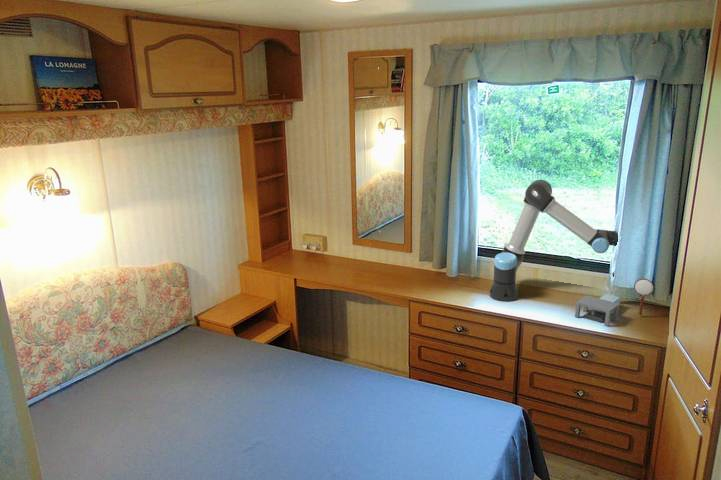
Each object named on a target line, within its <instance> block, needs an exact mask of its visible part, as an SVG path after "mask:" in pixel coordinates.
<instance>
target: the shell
mask: <svg viewBox="0 0 721 480" xmlns="http://www.w3.org/2000/svg"><path fill="white" fill-rule="evenodd" d="M599 299H603V300H606V301H610V302H614V303H618V304H619V305H620V303H621V296H620V297H618V296H614V295H613V294H608V293H605V294H604V295H602V296H601V297H600V298H599ZM613 311H614V310H613ZM613 311H612V312H611V314H610V316H611V315H613ZM595 312H598V313H601V314H603V315H604V314H605V315H606V312H603V311H600V310H596V309H595Z"/></svg>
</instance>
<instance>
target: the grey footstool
mask: <svg viewBox="0 0 721 480" xmlns="http://www.w3.org/2000/svg"><path fill="white" fill-rule="evenodd" d="M581 306H582V307H583V311H582V312H584V315H583V318H584V319H586V320H590V321H593V322H597V323H600V324H604V327H606V328H608V327H610V324H611V323H610V322H611V321H610V319H611V315H612V320H613V321H617V320H618V317H619V316H618V314H619V309H620V303H619V304H618V303H614V302H610V301H606V300H603V299H599V298H598V297H595V296H591V295H585V296H583V297H581V298H580V299H579V300H577V301H576V303H575V313H574V318H576V319H579V318H580V316H581V315H580V314H581V308H582V307H581ZM589 309H593V310H595V311H596V310H600V311H603V312H606V314H605V318H604V319H603V318H601V317H598V316H594V315H591V314H592V311H591V310H589ZM613 310H614V311H613ZM612 311H613V313H612V314H611V312H612ZM585 312H586V313H585ZM610 314H611V315H610Z"/></svg>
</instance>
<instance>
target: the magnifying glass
mask: <svg viewBox="0 0 721 480" xmlns="http://www.w3.org/2000/svg"><path fill="white" fill-rule="evenodd" d="M633 288H634V291H635V293H637V294H638V295H640V302H639V303H640V304H639V310H638V311H639V312H638V317H642V313H643V307H644V300H645V299H644V298H645V296H646V297H647V296H649V295H652V294H653V292H654V290H655V285H654V282H652V281H651V280H650V279H648V278H639V279H638V280H636V281H635V283H634V285H633Z"/></svg>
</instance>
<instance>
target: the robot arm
mask: <svg viewBox="0 0 721 480" xmlns="http://www.w3.org/2000/svg"><path fill="white" fill-rule="evenodd" d="M552 193H553V188H552V185H551V183H550V182H549V181H548V180H545V179H536V180H534V181H532V182H531V183H530V184H529V186H528V187H527V188H526V189H525V193H524V198H523V203H524V205H523V206H524V207H523V208H522V211H521V212H520V216H519V218H518V221H517V223H516V225H515V227H514V230H513V233H512V235H511V237H510V240H509V242H508V243H506V244H504V247H503V249H502V252H500V253H497V254H496V255H495V257H494V261H493V264H494V265H493V283H492V284H491V287H490V290H489V297H490V298H491V299H493V300H496V301H501V302H513V301H516V300H517V299H518V298H519V293H518V289H517V288H518V287H517V285H516V280H517V279H516V277H517V271H518V269H519V267H520V266H521V265H522V263H523V259H524V256H525V254H526V251H525V247H526V245H527V242H528V240H529V238H530V235H531V233H532V230H533V229H534V226H535V224H536V221H537V219H538V217H539V215H540V213H542V214H547V215H548V216H550V217H551V218H552V219H553V220H555V221H556V222H558V224H560V225H562V226H563V227H564V228H566V229H567V230H568V231H570V232H571V233H573V234H574V235H575V236H576V237H578V238H580V239H581V240H582V241H583V242H585V243H586V244H587V245H588V246H590V247H591V249H592V250H593V251H594V252H595V253H597V254H604V253H606V252H607V251H608V250H609V248H610V246H616V245H617V242H618V229H617V228H616V229H617V230H608V229H607V230H605V229H600V228H599V229H595V228H593V227H592V226H591V225H589V224H588V223H587V222H585V221H583V220H582V219H581V218H580V217H578V216H577V215H575V213H573V212H572V211H570V210H568V209H567V207H565V206H563V205H562V204H560V202H558V201H556V198H555V197H554V196H553V195H552ZM614 275H615V271H614V272H612V278H613V277H614Z"/></svg>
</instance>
